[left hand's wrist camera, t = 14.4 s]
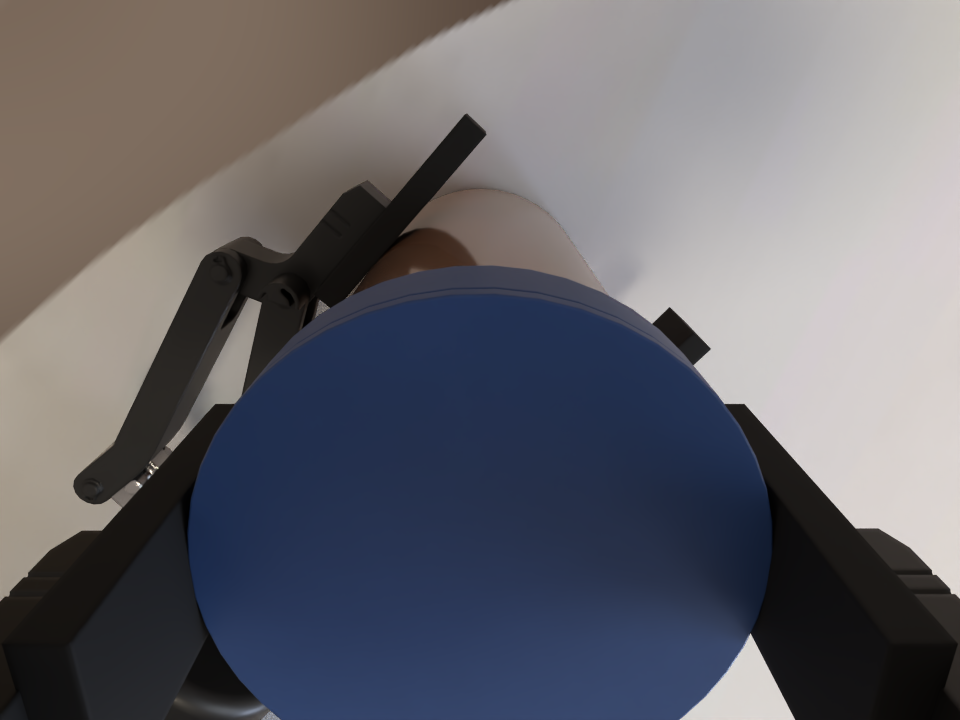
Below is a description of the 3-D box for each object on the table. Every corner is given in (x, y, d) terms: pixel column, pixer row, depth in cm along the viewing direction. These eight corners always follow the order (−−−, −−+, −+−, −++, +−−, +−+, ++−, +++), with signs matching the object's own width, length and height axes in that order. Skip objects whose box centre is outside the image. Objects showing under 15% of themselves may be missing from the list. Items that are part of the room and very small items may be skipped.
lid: (123, 497, 12) (65, 560, 11) (499, 140, 10) (503, 146, 8) (466, 769, 15) (464, 858, 13) (830, 525, 13) (887, 591, 11)
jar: (334, 287, 27) (124, 545, 11) (487, 141, 25) (499, 199, 9) (474, 425, 29) (465, 809, 13) (625, 300, 27) (830, 572, 11)
